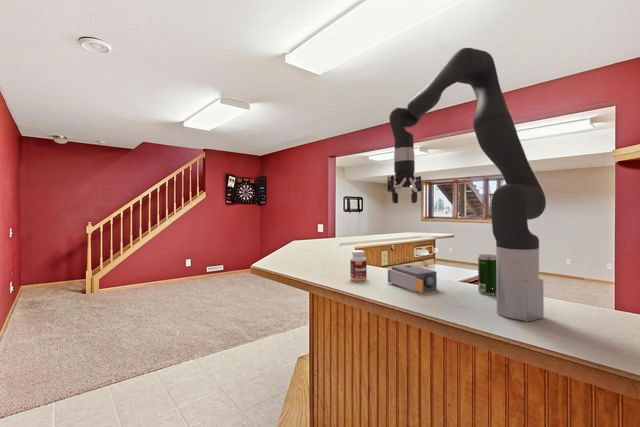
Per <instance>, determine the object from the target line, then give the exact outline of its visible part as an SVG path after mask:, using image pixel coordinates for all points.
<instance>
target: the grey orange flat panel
mask: <svg viewBox="0 0 640 427" xmlns="http://www.w3.org/2000/svg"><path fill="white" fill-rule="evenodd" d="M387 283H391V284H393V285H395V286H398V287H402V288H404V289H407V290H410V291H412V292H415V293H421V294H423V293H424V291H423V280H420V279H417V277H414V276H411V275H407V274H404V273H401V272H398V271H394V270H392V269H390V268H389V269H387ZM417 291H418V292H417Z"/></svg>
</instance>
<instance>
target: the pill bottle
mask: <svg viewBox="0 0 640 427" xmlns="http://www.w3.org/2000/svg"><path fill="white" fill-rule="evenodd" d="M351 254H352V256H351V257H350V265H349V266H350V270H349V271H350V280H352V281H355V282H362V281H363V282H364V281H366V280H367V274H368V273H367V257H365V250H361V249H360V250H359V249H358V250H357V249H356V250H352V251H351Z"/></svg>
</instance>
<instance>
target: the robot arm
mask: <svg viewBox="0 0 640 427" xmlns="http://www.w3.org/2000/svg"><path fill="white" fill-rule="evenodd" d="M456 83H459V84H466V85H469V86H470V87H471V88H472V90H473V93H474V95H475V99H476V103H477V104H476V108H475V109H476V110H475V112H474V117H473V122H472V123H473V130H474V134H475V136H476V139H477V142H478V144H479V147H480V148H481V150H482V151H483V154H485V156H486V157H487V158H488V159H489V160H490V161H491V162H492V163H493V165H494V166H496V169H498V170H499V171H500V173H501V176H502V177H503V179H504V184H502V185H500V186H498V187H497V188H496V189H495V190H494V192H493V194H492V197H491V201H490V202H491V203H490V212H491V214H490V215H491V228H492V234H493V238H494V240H495V247H496V248H495V249H496V250H495V253H496V254H495V255H496V279H497V294H496V313H497V314H498V315H500V316H503V317H504V318H509V319H513V320H517V321H518V320H519V321H524V322H532V321H536V320H540V319H543V318H544V301H545V300H544V279H543V278H540V239H539V237H538V236H537V235H536V234H534V233H532V232H531V231H530V229H529V225H528V220H534V219H537V218H539V217H541V215H542V214H543V213H544V211H545V210H546V204H547V202H546V201H547V200H546V195H545V192H544V190H543V188H542V186H541V185H540V183H539V181H538V178H537V177H536V175H535V172H534V171H533V169H532V167H531V166H530V163H529V160H528V158H527V155H526V153H525V150H524V148H523V144H522V142H521V140H520V138H519V136H518V131H517V127H516V126H515V123H514V120H513V118H512V115H511V113H510V111H509V109H508V106H507V105H508V104H507V103H506V99H505V98H504V94H503V92H502V89H501V85H500V82H499V77H498V72H497V67H496V63H495V61H494V57H493V56H492V55H491V54H490V53H489V52H488V51H485V50H481V49H476V48H473V47H463V48H460V49H459V50H457V51H456V52H455V53H454V54H453V55H452V56H451V57H450V58H449V59H448V61H447V62H446V63H445V64H444V65H443V66H442V68H440V70H439V71H438V72H437V74H436V75H435V76H434V77H433V79H431V81H430V82H429V83H428V84H427V85H426V86H425V87H424V88H422V90H420V91H419V92H418V93H417V94H416V95H414V96H413V97H412V98H411V99H410V100H409V101H408V102H407V105H406V107H401V106H396V107H394V108H393V109H391V111H390V114H389V117H388V118H389V124H390V129H391V133H392V135H393V139H394V151H393V152H394V155H393V169H394V174H395V175H388V176H387V186H386V188H387V190H386V191H387V192H389V193H391V201H392V202H393V204H398V203H399V193H398V192H399V191H400V189H402V188H408V190H409V191H410V192H411V196H410V197H411V198H410V199H411V203H412V204H416V203H417V202H418V193H420V192H422V190H423V189H422V187H423V186H422V176H421V175H417V176H415V175H414V174H415V171H416V169H415V166H416V165H415V149H414V148H415V147H414V135H413V133H411V132H409V131H407V130H406V129H405V128H412V127H414V126H416V125H417V123H418V122H420V120H421V118H422V117H423V116H424V115H425V114H426V113H428V112H429V111H430V110H432V109H433V108H435V106H436V105H437V104H438V103H439V101H440V99H441V97H442V95H443V92H444V91H445V90H446V89H447V88H449V87H451V86H452V85H454V84H456Z"/></svg>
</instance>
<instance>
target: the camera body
mask: <svg viewBox="0 0 640 427" xmlns="http://www.w3.org/2000/svg"><path fill="white" fill-rule="evenodd" d="M391 270H394V271H398V272H401V273H404V274H407V275H411V276H414V277H417V279H420V280H423V292H429V291H437V288H438V287H437V286H438V285H437V284H438V283H437V271H435V270H431V269H429V268H424V267H421V266H420V267H419V266H417V265H412V264H411V263H410V264H409V263H407V264H402V265H394V266H391ZM416 293H419V292H418V291H417V292H416Z"/></svg>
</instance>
